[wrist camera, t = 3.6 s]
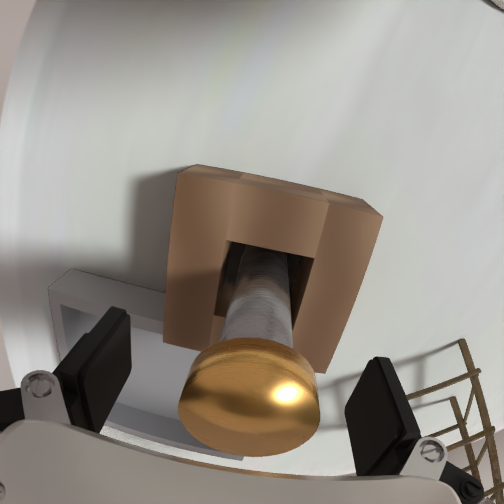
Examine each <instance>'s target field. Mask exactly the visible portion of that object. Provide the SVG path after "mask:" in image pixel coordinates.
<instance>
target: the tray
mask: <svg viewBox="0 0 504 504" xmlns="http://www.w3.org/2000/svg"><path fill="white" fill-rule="evenodd" d="M48 294H49V301H50V307H51V313H52V319H53V325H54V330H55V335H56V340H57V345H58V350H59V354H60V359H61V361H62V360H63V359H64V358H65V356H66V355H67V354H68V353H69V351H70V350H71V349H72V348H73V346H74V345H75V344H76V343H77V341H78V340H79V339H80V338H81V337H82V335H83V334H85V333H89V332H90V331H91V330H92V329H93V327H94V326H95V325H96V324H97V323H98V321H99V320H100V319H101V318H102V317H103V315H104V314H105V313H106V312H107V311H108V309H109V308H110V307H111V306H114V307H118V308H122V309H125V310H126V312H127V314H129V315H130V318H131V357H132V369H131V373H130V375H129V377H128V379H127V381H126V383H125V385H124V387H123V389H122V390H121V392H120V394H119V396H118V398H117V400H116V402H115V404H114V406H113V408H112V410H111V412H110V414H109V416H108V417H107V419H106V421H105V423H104V425H106V426H108V427H111V428H114V429H117V430H120V431H123V432H126V433H129V434H132V435H135V436H138V437H141V438H144V439H148V440H151V441H154V442H158V443H161V444H165V445H169V446H173V447H177V448H181V449H185V450H189V451H193V452H198V453H202V454H207V455H212V456H217V457H222V458H228V459H234V460H240V461H242V460H243V457H244V456H239V455H233V454H229V453H225V452H221V451H219V450H216V449H213V448H211V447H209V446H207V445H205V444H204V443H202V442H200V441H199V440H197V439H196V438H195V437H193V436H192V435H191V434H190V433H189V432H188V431H187V430H186V428H185V427H184V426H183V424H182V422H181V420H180V418H179V414H178V403H179V399H180V396H181V393H182V390H183V387H184V384H185V381H186V378H187V376H188V373H189V370H190V367H191V365H192V362H193V361H194V359H195V358H196V357H197V356H198V355H199V354H200V353H201V352H200V351H195V350H191V349H187V348H183V347H179V346H175V345H171V344H167V343H163V323H164V304H165V293H164V292H160V291H155V290H151V289H147V288H143V287H139V286H135V285H131V284H127V283H123V282H120V281H116V280H112V279H108V278H104V277H101V276H97V275H93V274H90V273H86V272H83V271H79V270H75V269H70V270H69V271H68V272H67V273H65V274H64V275H63V276H62V277H60V278H59V279H58V280H57V281H55V282H54V283H53V284H52V285H51V286H49V287H48Z"/></svg>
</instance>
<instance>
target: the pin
mask: <svg viewBox="0 0 504 504" xmlns="http://www.w3.org/2000/svg"><path fill="white" fill-rule="evenodd" d="M178 414H179V418H180V420H181V422H182V424H183V426H184V427H185V428H186V430H187V431H188V432H189V433H190V434H191V435H192V436H193V437H195V438H196V439H197V440H199V441H200V442H202V443H204V444H205V445H207V446H209V447H211V448H213V449H216V450H219V451H221V452H225V453H229V454H233V455H239V456H249V457H262V456H271V455H277V454H281V453H285V452H287V451H290V450H293V449H295V448H297V447H299V446H300V445H302V444H304V443H305V442H306V441H308V440H309V439H310V438H311V437H312V436H313V435H314V433H315V432H316V430H317V428H318V426H319V422H320V409H319V400H318V391H317V383H316V377H315V373H314V371H313V368H312V367H311V365H310V364H309V362H308V361H307V360H306V359H305V358H304V357H303V356H302V355H301V354H300V353H298V352H297V351H295V350H294V349H293V341H292V324H291V308H290V293H289V279H288V265H287V254H286V252H282V251H277V250H272V249H268V248H263V247H258V246H253V245H248V244H247V245H246V247H245V248H244V250H243V253H242V257H241V261H240V265H239V269H238V272H237V276H236V280H235V284H234V287H233V291H232V295H231V299H230V303H229V306H228V310H227V314H226V318H225V322H224V325H223V329H222V333H221V337H220V341H219V342H218V343H216V344H213V345H211V346H209V347H208V348H206V349H205V350H203V351H202V352H201V353H200V354H199V355H198V356H197V357H196V358H195V359H194V361H193V362H192V365H191V367H190V370H189V373H188V376H187V378H186V381H185V384H184V387H183V390H182V393H181V396H180V399H179V403H178Z"/></svg>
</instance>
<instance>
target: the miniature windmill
mask: <svg viewBox="0 0 504 504" xmlns="http://www.w3.org/2000/svg"><path fill="white" fill-rule="evenodd" d="M458 344H459V347H460V349H461V352H462V355H463V358H464V361H465V364H466V367H467V370H468V373H465V374H463V375H460V376H458V377H455V378H453V379H450V380H448V381H445V382H442V383H440V384H437V385H434V386H432V387H429V388H426V389H423V390H420V391H417V392H414V393H411V394H408V395H406V397H407V400H410V399H413V398H416V397H419V396H422V395H425V394H428V393H431V392H434V391H436V390H439V389H442V388H444V387H447V386H450V385H452V384H455V383H457V382H460V381H462V380H464V379H467V378H469V377H470V380H471V383H472V389H471V394H470V398H469V401H468V405H467V409H466V412H465V416H464V419H463V417H462V414H461V411H460V408H459V405H458V402H457V399H456V397H450V402H451V405H452V408H453V411H454V414H455V417H456V420H457V423H458V424H456V425H454V426H451V427H449V428H446V429H444V430H441V431H439V432H436V433H433V434H430V435H428V436H425V437H433V438H434V437H437V436H440V435H442V434H445V433H447V432H450V431H452V430H455V429H457V428H459V430H460V433H461V436H462V439H463V440H461V441H459V442H457V443H454V444H452V445H449V446H447V447H446V449H447V452H449V451H452V450H454V449H457V448H459V447H461V446H465V450H466V453H467V457H468V460H469V464H470V466H468V467H465V468H463V469H461V470H463V471H465V472H467V471H469V470H471V472H472V476H473V477H475V478H476V479H478V480H479V481H480V482H481V479H480V475H479V471H478V467H477V466H478V465H479V463H480V461H481V459H482V457H483V455H484V453H485V451H486V449H487V448H488V453H489V458H490V464H491V469H492V476H493V483H494V487H493V488H491V489H489V490H487V491H486V492H484V496H483V497H484V498H485V497H486V496H488V495H490V494H492V493H494V494H493V495H492V496H491V497H490V499H491V500H492V501H494V500H496V504H504V497H503V489H504V482H502V481H501V474H500V468H499V462H498V456H497V450H496V445H495V440H494V436H493V434H494V432H495V427H494V426H492V427H491V423H490V418H489V414H488V410H487V407H486V403H485V399H484V396H483V392H482V389H481V385H480V382H479V379H478V376H479V373H481V370H480V369H479V368H477V369H475V366H474V363H473V360H472V357H471V354H470V352H469V349H468V346H467V343H466V340H465V339H462V340H459V342H458ZM474 394H475V397H476V401H477V405H478V408H479V412H480V416H481V420H482V425H483V429H484V430H483V431H481V432H479V433H477V434H475V435H473V436H471V437H469V436H468V432H467V429H466V426H465V425H467V423H466V421H467V417H468V414H469V411H470V407H471V404H472V400H473V396H474ZM483 436H485V438H486V441H485V443H484V445H483V448H482V450H481V452H480V454H479V456H478V458H477V460H475V456H474V453H473V449H472V446H471V442H473V441H475V440H477V439H479V438H481V437H483ZM422 438H423V437H422Z"/></svg>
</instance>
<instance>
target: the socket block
mask: <svg viewBox="0 0 504 504" xmlns="http://www.w3.org/2000/svg"><path fill="white" fill-rule="evenodd" d="M382 220H383V216H382V215H380V214H379V213H378V212H377V211H376V210H375V209H374V208H372V207H371V206H370V205H369V204H368V203H366V202H365V201H364V200H363V199H359V198H355V197H352V196H348V195H344V194H340V193H336V192H332V191H327V190H323V189H319V188H315V187H310V186H306V185H302V184H297V183H293V182H288V181H283V180H279V179H274V178H269V177H264V176H259V175H254V174H249V173H244V172H239V171H233V170H228V169H222V168H217V167H211V166H205V165H199V164H197V165H195V166H192V167H190V168H188V169H186V170H183V171H181V172H179V173H178V174H177V181H176V189H175V197H174V205H173V213H172V222H171V232H170V241H169V252H168V263H167V275H166V289H165V304H164V323H163V343H167V344H171V345H175V346H179V347H183V348H187V349H191V350H195V351H200V352H202V351H203V350H205V349H206V348H208V347H209V346H211V345H213V344H216V343H218V342H219V341H220V337H221V333H222V329H223V325H224V322H225V318H226V314H227V310H228V306H229V303H230V299H231V295H232V291H233V287H234V284H230V283H226V282H225V276H226V270H227V264H228V259H229V253H230V247H231V242H232V241H233V242H238V243H243V244H248V245H253V246H258V247H263V248H268V249H272V250H277V251H282V252H287V253H292V254H297V255H301V259H300V263H299V266H298V270H297V274H296V277H295V281H294V285H293V288H292V292H291V295H290V308H291V324H292V341H293V349H294V350H295V351H297V352H298V353H300V354H301V355H302V356H303V357H304V358H305V359H306V360H307V361H308V362H309V364H310V365H311V367H312V368H313V371H314V372H316V373H324V374H325V373H326V371H327V368H328V366H329V364H330V362H331V359H332V357H333V355H334V352H335V350H336V348H337V345H338V343H339V340H340V338H341V336H342V333H343V331H344V328H345V326H346V323H347V321H348V318H349V316H350V313H351V311H352V308H353V305H354V303H355V300H356V297H357V295H358V292H359V289H360V286H361V284H362V281H363V278H364V275H365V272H366V270H367V267H368V264H369V261H370V258H371V255H372V252H373V249H374V246H375V243H376V239H377V236H378V233H379V230H380V227H381V223H382Z"/></svg>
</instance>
